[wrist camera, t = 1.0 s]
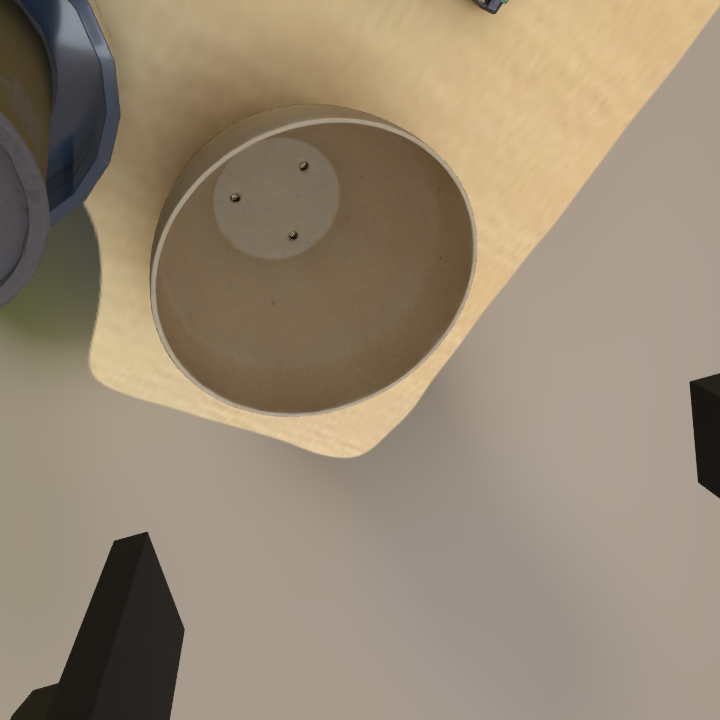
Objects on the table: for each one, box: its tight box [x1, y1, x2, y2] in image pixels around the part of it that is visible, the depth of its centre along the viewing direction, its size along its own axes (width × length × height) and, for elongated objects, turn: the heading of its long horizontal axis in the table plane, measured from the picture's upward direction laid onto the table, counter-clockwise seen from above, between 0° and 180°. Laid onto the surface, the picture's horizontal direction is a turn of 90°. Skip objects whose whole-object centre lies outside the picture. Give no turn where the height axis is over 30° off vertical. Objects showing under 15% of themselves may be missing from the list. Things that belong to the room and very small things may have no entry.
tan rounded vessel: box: [150, 104, 477, 417], centre depth 41 cm, size 18×18×12 cm
